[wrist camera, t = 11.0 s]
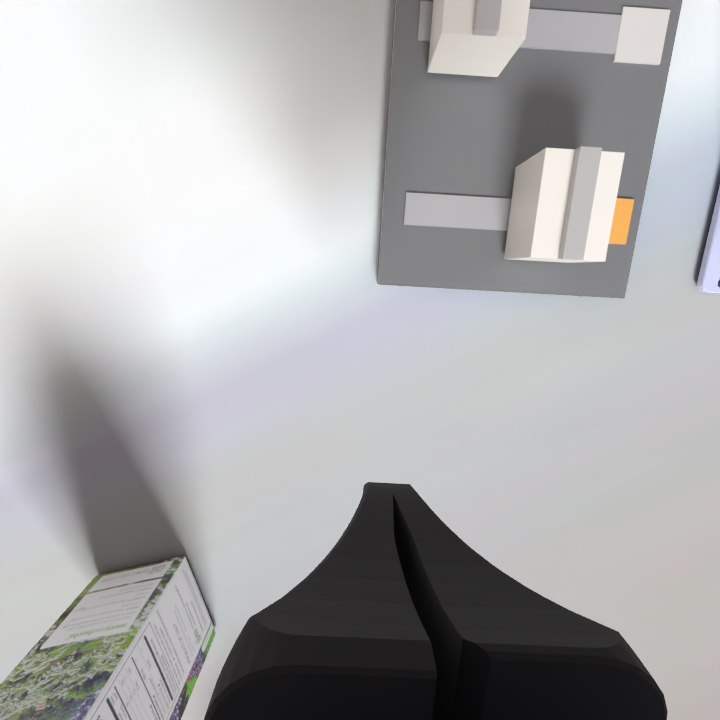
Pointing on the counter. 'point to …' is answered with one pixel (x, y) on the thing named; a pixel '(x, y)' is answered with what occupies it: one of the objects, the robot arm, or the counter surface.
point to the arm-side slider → (563, 205)
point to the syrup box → (117, 651)
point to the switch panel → (518, 142)
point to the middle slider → (476, 35)
